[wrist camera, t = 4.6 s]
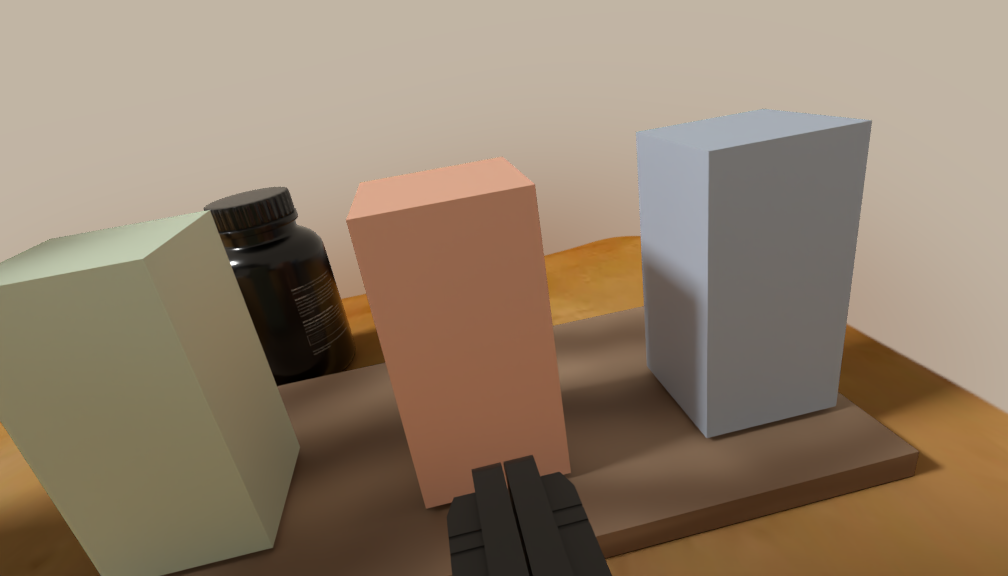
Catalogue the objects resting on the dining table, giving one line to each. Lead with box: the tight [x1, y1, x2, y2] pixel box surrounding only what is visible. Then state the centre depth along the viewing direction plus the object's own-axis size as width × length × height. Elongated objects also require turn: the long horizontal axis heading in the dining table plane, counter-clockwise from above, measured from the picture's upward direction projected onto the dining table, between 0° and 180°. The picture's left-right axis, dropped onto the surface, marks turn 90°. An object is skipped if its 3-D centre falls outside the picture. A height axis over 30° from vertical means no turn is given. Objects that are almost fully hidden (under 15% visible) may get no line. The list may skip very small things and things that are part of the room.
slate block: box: [636, 109, 872, 438], centre depth 23 cm, size 6×6×12 cm
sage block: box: [0, 210, 300, 576], centre depth 20 cm, size 6×6×12 cm
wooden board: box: [100, 306, 919, 576], centre depth 26 cm, size 16×32×1 cm, turn 100°
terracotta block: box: [346, 157, 571, 509], centre depth 22 cm, size 6×6×12 cm
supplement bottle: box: [204, 187, 355, 386], centre depth 34 cm, size 7×7×12 cm
